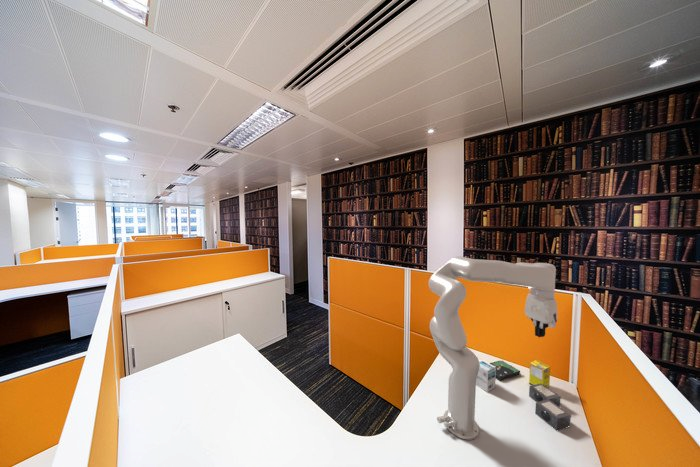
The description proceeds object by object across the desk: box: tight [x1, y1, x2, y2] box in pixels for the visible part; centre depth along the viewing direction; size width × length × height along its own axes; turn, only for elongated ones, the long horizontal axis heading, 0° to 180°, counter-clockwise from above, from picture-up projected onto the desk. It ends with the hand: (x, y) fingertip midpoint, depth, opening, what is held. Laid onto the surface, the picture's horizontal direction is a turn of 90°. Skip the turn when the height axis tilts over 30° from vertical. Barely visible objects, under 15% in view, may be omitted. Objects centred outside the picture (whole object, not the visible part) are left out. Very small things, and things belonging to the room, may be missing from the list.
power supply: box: [528, 383, 562, 408], centre depth 101 cm, size 7×8×5 cm
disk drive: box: [488, 359, 521, 382], centre depth 121 cm, size 10×3×15 cm
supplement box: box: [528, 359, 551, 389], centre depth 111 cm, size 6×6×11 cm
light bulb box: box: [476, 355, 496, 393], centre depth 113 cm, size 11×7×11 cm, turn 28°
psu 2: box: [534, 399, 572, 432], centre depth 92 cm, size 7×8×5 cm
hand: (539, 335), depth 95 cm, fingers closed
